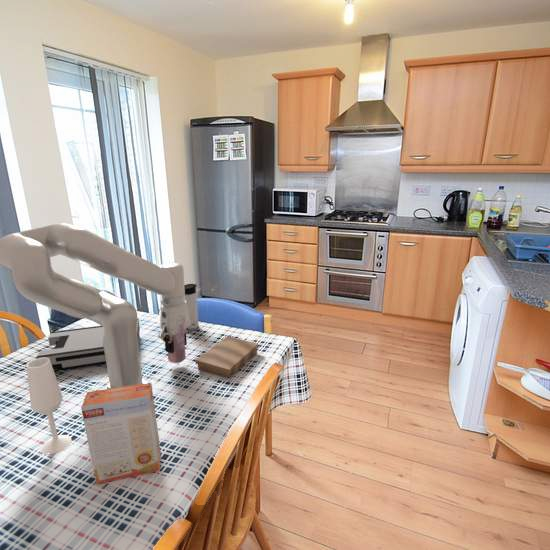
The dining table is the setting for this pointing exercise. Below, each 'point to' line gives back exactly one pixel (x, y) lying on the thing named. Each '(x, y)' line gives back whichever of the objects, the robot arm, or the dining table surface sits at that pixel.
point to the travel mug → (192, 305)
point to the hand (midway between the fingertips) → (176, 347)
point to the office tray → (77, 348)
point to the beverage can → (178, 347)
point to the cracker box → (122, 432)
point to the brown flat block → (227, 357)
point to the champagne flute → (46, 399)
